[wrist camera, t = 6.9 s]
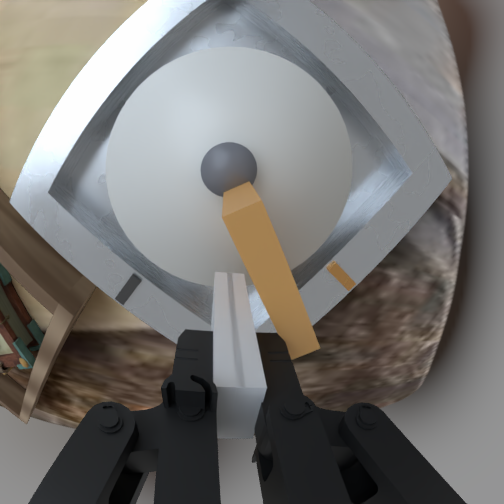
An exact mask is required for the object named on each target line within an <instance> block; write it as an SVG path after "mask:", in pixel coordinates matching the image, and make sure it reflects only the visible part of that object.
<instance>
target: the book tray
mask: <svg viewBox="0 0 504 504" xmlns="http://www.w3.org/2000/svg"><path fill="white" fill-rule="evenodd" d="M0 263H1V264H2V265H3V266H4V267H5V268H6V270H7V271H8V272H9V273H10V274H11V275H12V276H13V277H14V278H15V279H16V280H17V281H18V282H19V283H20V284H21V285H22V286H23V287H24V288H25V289H26V290H27V291H28V292H29V293H30V294H31V295H32V296H33V297H34V298H35V299H36V300H37V301H38V302H40V303H41V304H42V305H43V306H44V307H45V308H46V309H47V310H48V311H50V312H51V313H52V314H53V317H52V319H51V321H50V324H49V326H48V329H47V331H46V334H45V336H44V339H43V341H42V344H41V347H40V349H39V352H38V355H37V358H36V360H35V363H34V366H33V369H32V372H31V376H30V379H29V382H28V386H27V389H26V390H25V389H24V388H22V387H21V386H20V385H19V384H18V383H16V382H15V381H14V380H13V379H12V378H11V377H9V376H8V375H7V374H5V375H3V373H0V404H2V405H3V406H4V407H5V408H6V409H8V410H9V411H10V412H11V413H12V414H14V415H15V416H16V417H18V418H19V419H20V420H21V421H23V422H24V423H25V424H27V423H28V421H29V419H30V417H31V414H32V412H33V410H34V408H35V406H36V404H37V402H38V400H39V397H40V395H41V392H42V390H43V388H44V385H45V383H46V381H47V378H48V376H49V374H50V372H51V370H52V367H53V365H54V363H55V361H56V359H57V357H58V355H59V353H60V351H61V349H62V347H63V345H64V343H65V341H66V339H67V337H68V335H69V333H70V331H71V330H72V328H73V326H74V324H75V322H76V320H77V319H78V317H79V315H80V313H81V312H82V310H83V308H84V306H85V305H86V303H87V301H88V300H89V298H90V296H91V295H92V293H93V291H94V290H95V288H96V285H95V284H94V283H92V282H91V281H90V280H89V279H88V278H86V277H85V276H84V275H83V274H82V273H80V272H79V271H78V270H77V269H76V268H75V267H74V266H72V265H71V264H70V263H69V262H68V261H67V260H66V259H65V258H64V257H62V256H61V255H60V254H59V253H58V252H57V251H56V250H55V249H54V248H53V247H52V246H51V245H50V244H49V243H48V242H47V241H46V240H45V239H44V238H43V237H42V236H41V235H40V234H39V233H38V232H37V231H36V230H35V229H34V228H33V227H32V226H31V225H30V224H29V223H28V222H27V221H26V220H25V219H24V218H23V217H22V216H21V215H20V214H19V212H18V211H17V210H16V209H15V208H14V207H13V206H12V205H11V204H10V199H9V198H8V197H7V196H6V195H5V193H4V192H3V191H2V190H1V189H0Z"/></svg>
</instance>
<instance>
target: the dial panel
mask: <svg viewBox="0 0 504 504" xmlns="http://www.w3.org/2000/svg"><path fill="white" fill-rule="evenodd" d="M216 47H246V48H252V49H257V50H262V51H265V52H268V53H271V54H274V55H277V56H280V57H282V58H284V59H286V60H288V61H290V62H292V63H294V64H295V65H297V66H298V67H300V68H301V69H303V70H304V71H306V72H307V73H308V74H309V75H310V76H312V77H313V78H314V79H315V80H316V81H317V82H318V83H319V84H320V85H321V86H322V87H323V88H324V90H325V91H326V92H327V93H328V94H329V96H330V97H331V99H332V100H333V102H334V103H335V105H336V106H337V108H338V110H339V112H340V114H341V116H342V118H343V121H344V123H345V125H346V129H347V132H348V135H349V139H350V144H351V151H352V179H351V187H350V191H349V195H348V199H347V203H346V205H345V208H344V210H343V213H342V215H341V217H340V219H339V221H338V223H337V225H336V226H335V228H334V230H333V231H332V233H331V234H330V235H329V237H328V238H327V239H326V241H325V242H324V243H323V244H322V245H321V246H320V247H319V249H318V250H317V251H316V252H315V253H314V254H312V255H311V256H310V257H309V258H308V259H306V260H305V261H304V262H303V263H301V264H300V265H298V266H297V267H295V268H294V269H292V270H291V273H292V275H293V278H294V280H295V283H296V285H297V288H298V291H299V293H300V296H301V298H302V301H303V304H304V306H305V309H306V311H307V314H308V317H309V319H310V322H311V325H312V326H313V325H314V324H315V323H316V322H317V321H319V320H320V319H321V318H322V317H323V316H324V315H325V314H326V313H328V312H329V311H330V310H331V309H332V308H333V307H334V306H335V305H336V304H338V303H339V302H340V301H341V300H342V299H343V298H344V297H345V296H346V295H347V294H348V293H349V292H350V291H351V290H352V289H353V288H355V287H356V286H357V285H358V284H359V283H360V282H361V281H362V280H363V279H364V278H365V277H366V276H367V275H368V274H369V273H370V272H371V271H372V270H373V269H374V268H375V267H376V266H377V265H378V264H379V263H380V262H381V261H382V260H383V259H384V257H385V256H386V255H387V254H388V253H389V252H390V251H391V250H392V249H393V248H394V247H395V246H396V245H397V244H398V243H399V241H400V240H401V239H402V238H403V237H404V236H405V235H406V234H407V233H408V232H409V230H410V229H411V228H412V227H413V226H414V225H415V224H416V222H417V221H418V220H419V219H420V218H421V217H422V215H423V214H424V213H425V212H426V211H427V210H428V208H429V207H430V206H431V205H432V203H433V202H434V201H435V200H436V199H437V197H438V196H439V195H440V194H441V192H442V191H443V190H444V189H445V187H446V186H447V185H448V183H449V182H450V181H451V180H452V177H451V175H450V173H449V171H448V169H447V167H446V165H445V163H444V161H443V159H442V158H441V156H440V154H439V152H438V150H437V149H436V147H435V145H434V143H433V142H432V140H431V138H430V137H429V135H428V133H427V132H426V130H425V129H424V127H423V126H422V124H421V122H420V121H419V119H418V118H417V116H416V115H415V113H414V112H413V111H412V109H411V108H410V106H409V105H408V103H407V102H406V101H405V99H404V98H403V97H402V95H401V94H400V93H399V91H398V90H397V89H396V87H395V86H394V85H393V84H392V82H391V81H390V80H389V79H388V77H387V76H386V75H385V74H384V73H383V71H382V70H381V69H380V68H379V67H378V65H377V64H376V63H375V62H374V61H373V60H372V59H371V58H370V56H369V55H368V54H367V53H366V52H365V51H364V50H363V49H362V48H361V47H360V46H359V45H358V44H357V43H356V42H355V41H354V40H353V39H352V38H351V37H350V36H349V35H348V34H347V33H346V32H345V31H344V30H343V29H342V28H341V27H340V26H339V25H338V24H337V23H335V22H334V21H333V20H332V19H331V18H330V17H329V16H328V15H326V14H325V13H324V12H323V11H322V10H320V9H319V8H318V7H317V6H316V5H314V4H313V3H312V2H311V1H309V0H149V1H148V2H146V3H145V4H144V5H143V6H142V7H141V8H139V9H138V10H137V11H136V12H135V13H134V14H133V15H132V16H131V17H130V18H129V19H128V20H126V21H125V22H124V23H123V24H122V25H121V26H120V27H119V28H118V29H117V30H116V31H115V32H114V34H113V35H112V36H111V37H110V38H109V39H108V40H107V41H106V42H105V43H104V44H103V45H102V46H101V48H100V49H99V50H98V51H97V52H96V53H95V55H94V56H93V57H92V58H91V59H90V61H89V62H88V63H87V64H86V66H85V67H84V68H83V69H82V71H81V72H80V73H79V75H78V76H77V77H76V79H75V80H74V81H73V83H72V84H71V85H70V87H69V88H68V90H67V91H66V92H65V94H64V95H63V97H62V98H61V100H60V101H59V103H58V105H57V106H56V108H55V109H54V111H53V112H52V114H51V116H50V117H49V119H48V121H47V122H46V124H45V126H44V128H43V129H42V131H41V133H40V135H39V137H38V139H37V140H36V142H35V144H34V146H33V148H32V150H31V152H30V154H29V156H28V158H27V161H26V163H25V165H24V167H23V169H22V172H21V174H20V176H19V179H18V181H17V183H16V186H15V188H14V191H13V194H12V196H11V199H10V204H11V205H12V206H13V207H14V208H15V209H16V210H17V211H18V212H19V214H20V215H21V216H22V217H23V218H24V219H25V220H26V221H27V222H28V223H29V224H30V225H31V226H32V227H33V228H34V229H35V230H36V231H37V232H38V233H39V234H40V235H41V236H42V237H43V238H44V239H45V240H46V241H47V242H48V243H49V244H50V245H51V246H52V247H53V248H54V249H55V250H56V251H57V252H58V253H59V254H60V255H61V256H62V257H64V258H65V259H66V260H67V261H68V262H69V263H70V264H71V265H72V266H74V267H75V268H76V269H77V270H78V271H79V272H80V273H82V274H83V275H84V276H85V277H86V278H88V279H89V280H90V281H91V282H92V283H94V284H95V285H96V286H97V287H98V288H100V289H101V290H102V291H103V292H105V293H106V294H107V295H108V296H110V297H111V298H112V299H114V300H115V301H116V302H117V303H119V304H120V305H121V306H123V307H124V308H125V309H127V310H128V311H129V312H131V313H132V314H134V315H135V316H136V317H138V318H139V319H140V320H142V321H143V322H145V323H146V324H148V325H149V326H150V327H152V328H153V329H155V330H156V331H158V332H159V333H161V334H162V335H164V336H165V337H167V338H168V339H170V340H171V341H173V342H174V343H176V344H177V341H178V337H179V336H180V335H181V334H182V333H183V331H184V330H185V329H190V330H203V331H211V321H212V306H213V291H214V287H213V286H206V285H201V284H197V283H193V282H189V281H186V280H184V279H181V278H179V277H176V276H174V275H172V274H170V273H168V272H166V271H165V270H163V269H161V268H159V267H158V266H157V265H155V264H154V263H153V262H151V261H150V260H149V259H147V258H146V257H145V256H144V255H143V254H142V253H141V252H140V251H139V250H138V249H137V248H136V247H135V246H134V244H133V243H132V242H131V241H130V240H129V238H128V237H127V236H126V234H125V232H124V231H123V229H122V228H121V226H120V224H119V222H118V220H117V218H116V216H115V213H114V211H113V209H112V205H111V202H110V199H109V195H108V190H107V183H106V155H107V147H108V143H109V139H110V135H111V131H112V129H113V126H114V124H115V121H116V119H117V117H118V115H119V113H120V111H121V109H122V108H123V106H124V104H125V103H126V101H127V100H128V99H129V97H130V96H131V95H132V93H133V92H134V91H135V90H136V88H137V87H138V86H139V85H140V84H141V83H142V82H143V81H144V80H146V79H147V78H148V77H149V76H150V75H151V74H153V73H154V72H155V71H157V70H158V69H159V68H161V67H162V66H164V65H166V64H168V63H169V62H171V61H173V60H175V59H177V58H179V57H182V56H184V55H187V54H190V53H192V52H196V51H200V50H204V49H209V48H216ZM246 288H247V293H248V298H249V303H250V308H251V313H252V318H253V322H254V327H255V332H263V333H277V331H276V329H275V327H274V325H273V323H272V321H271V319H270V316H269V314H268V312H267V310H266V308H265V306H264V304H263V302H262V300H261V298H260V296H259V294H258V292H257V290H256V288H255V286H254V284H253V285H249V286H246Z"/></svg>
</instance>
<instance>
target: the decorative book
mask: <svg viewBox="0 0 504 504" xmlns="http://www.w3.org/2000/svg"><path fill="white" fill-rule="evenodd" d="M10 281H12V279H11V277H10V275H9V272H8V271H7V270H6V268H5V267H4V266H3V265H2V264H1V263H0V373H3V375H5V374H6V373H7V372H9V371H10V370H11V369H12V368H14V367H18V368H19V369H26V368H33V366H34V363H35V360H36V359H35V358H34V356H33V355H32V353H31V352H30V351H29V349H30V350H31V351H36V350H39V349H40V347H41V344H42V341H43V339H44V334H43V333H42V331H41V329H40V328H39V326H38V325H37V323H36V322H35V320H34V319H33V320H32V319H31V318H30V316H29V314H28V313H27V311H26V309H25V308H24V306H23V304H22V302H21V301H20V299H19V297H18V295H17V293H16V291H15V289H14V288H13V286H12V284H11V282H10Z"/></svg>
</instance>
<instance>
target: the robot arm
mask: <svg viewBox="0 0 504 504" xmlns="http://www.w3.org/2000/svg"><path fill="white" fill-rule="evenodd" d="M161 391H162V398H163V403H162V404H160V405H159V406H156V407H154V408H151V409H147V410H139V411H130V410H129V409H128V408H127V407H125V406H123V405H122V404H119V403H115V402H102V403H99V404H97V405H94V406H93V407H92V408H91V409H90V410H89V411H88V412H87V414H86V415H85V417H84V418H83V420H82V421H81V423H80V424H79V425H78V427H77V428H76V430H75V431H74V433H73V434H72V436H71V437H70V439H69V440H68V442H67V443H66V445H65V446H64V448H63V449H62V451H61V452H60V454H59V456H58V457H57V458H56V460H55V462H54V463H53V465H52V466H51V468H50V469H49V471H48V472H47V474H46V476H45V477H44V479H43V480H42V482H41V484H40V485H39V487H38V489H37V490H36V492H35V494H34V495H33V497H32V498H31V500H30V502H29V503H28V504H136V502H137V499H138V497H139V495H140V492H141V490H142V488H143V485H144V483H145V481H146V479H147V476H148V474H149V472H153V471H156V482H155V494H154V495H155V496H154V504H221V500H220V484H219V466H218V444H217V438H222V439H248V438H249V439H250V438H253V436H254V433H255V436H256V443H257V445H256V448H255V451H254V454H253V457H252V462H257V469H258V475H259V480H260V486H261V492H262V498H263V504H466V503H465V502H464V501H463V499H462V498H461V497H460V496H459V495H458V494H457V493H456V492H455V491H454V490H453V488H452V487H451V486H450V485H449V484H448V483H447V482H446V481H445V480H444V479H443V478H442V477H441V475H440V474H439V473H438V472H437V471H436V470H435V469H434V468H433V467H432V465H431V464H430V463H429V462H428V461H427V460H426V459H425V458H424V457H423V455H421V453H420V452H419V451H418V450H417V449H416V448H415V447H414V446H413V444H411V442H410V441H409V440H408V439H407V438H406V437H405V436H404V435H403V433H402V432H401V431H400V430H399V429H398V428H397V427H396V425H394V423H393V422H392V421H391V420H390V419H389V418H388V417H387V416H386V414H385V413H384V412H383V411H382V410H381V409H379V408H378V407H377V406H375V405H372V404H370V403H357V404H354V405H352V406H351V407H349V408H348V409H347V411H346V412H340V411H332V410H326V409H322V408H319V407H317V406H315V404H314V403H313V401H312V400H310V399H309V398H308V397H306V396H304V395H303V393H302V390H301V387H300V384H299V381H298V378H297V375H296V372H295V369H294V366H293V363H292V362H291V357H290V354H289V351H288V348H287V345H286V342H285V341H284V340H283V339H282V338H281V337H280V335H278V333H263V332H255V327H254V322H253V318H252V313H251V308H250V303H249V298H248V293H247V288H246V282H245V277H244V274H239V273H226V272H215V278H214V291H213V306H212V321H211V331H203V330H190V329H185V330H184V331H183V333H182V334H181V335H180V336H179V337H178V341H177V347H176V353H175V359H174V366H173V372H172V375H171V376H169V377H168V378H167V379H166V380H164V383H163V385H162V387H161Z"/></svg>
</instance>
